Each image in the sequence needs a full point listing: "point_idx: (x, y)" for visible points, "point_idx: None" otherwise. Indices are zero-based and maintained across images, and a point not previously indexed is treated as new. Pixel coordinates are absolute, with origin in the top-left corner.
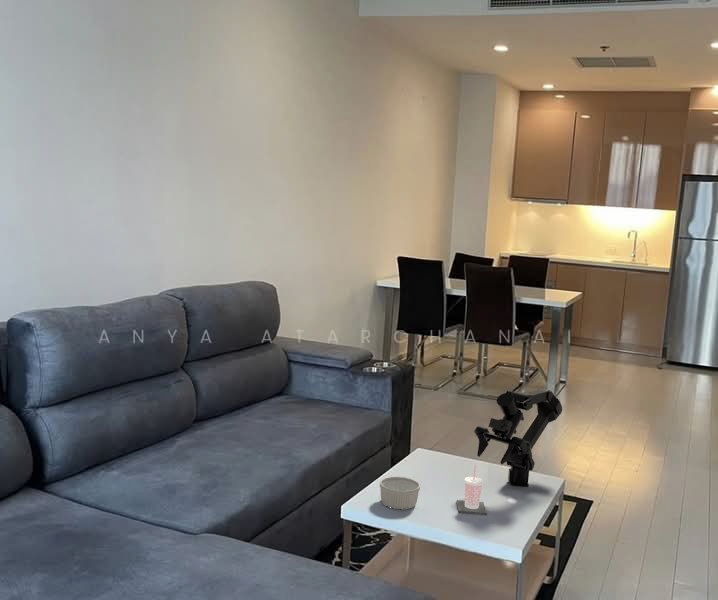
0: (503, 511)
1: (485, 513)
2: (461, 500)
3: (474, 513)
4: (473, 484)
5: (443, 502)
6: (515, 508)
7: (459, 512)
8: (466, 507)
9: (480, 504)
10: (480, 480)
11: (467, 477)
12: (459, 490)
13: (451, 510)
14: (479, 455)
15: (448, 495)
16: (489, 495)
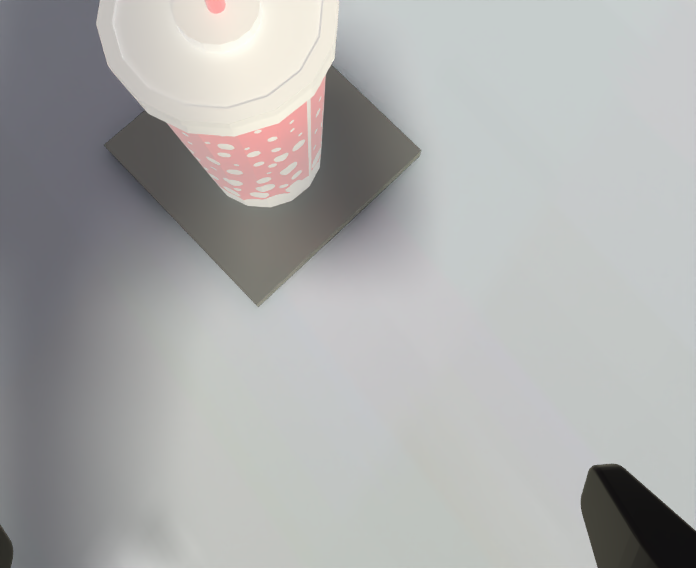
0: (58, 323)
1: (113, 140)
2: (390, 175)
3: None
4: None
5: (467, 64)
6: (22, 471)
7: None
8: None
9: (240, 241)
10: (164, 82)
11: (325, 12)
12: (579, 376)
13: None
14: (593, 518)
15: (548, 205)
16: (346, 523)
